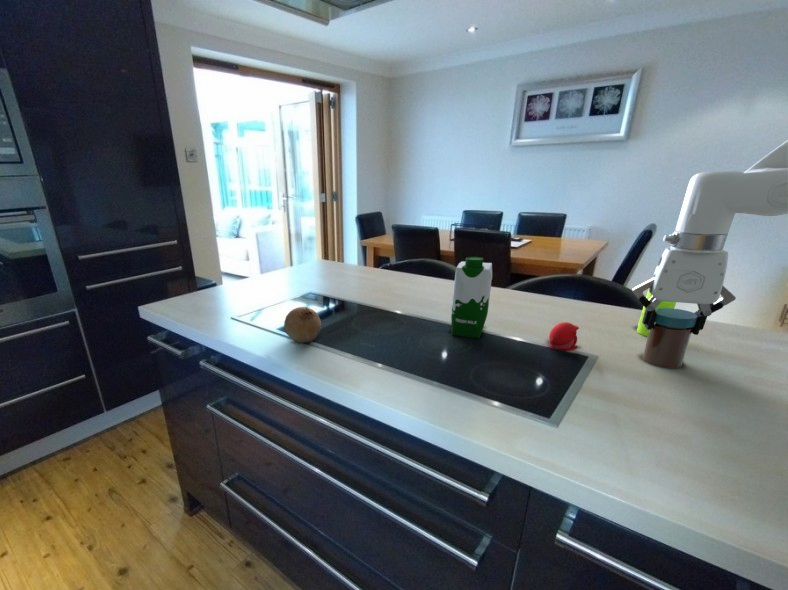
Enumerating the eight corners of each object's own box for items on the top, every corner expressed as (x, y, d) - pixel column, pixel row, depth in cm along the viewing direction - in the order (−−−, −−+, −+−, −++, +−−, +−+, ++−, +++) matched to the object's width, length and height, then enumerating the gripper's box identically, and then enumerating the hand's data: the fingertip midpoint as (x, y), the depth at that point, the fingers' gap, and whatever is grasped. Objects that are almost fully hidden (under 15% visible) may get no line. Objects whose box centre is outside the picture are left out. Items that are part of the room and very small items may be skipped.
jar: (675, 359, 84) (689, 313, 80) (685, 373, 79) (700, 324, 75) (638, 355, 87) (649, 311, 83) (645, 368, 82) (658, 321, 78)
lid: (700, 329, 75) (703, 320, 74) (655, 325, 78) (657, 316, 77) (689, 318, 81) (691, 309, 80) (647, 315, 84) (650, 306, 83)
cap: (571, 356, 88) (577, 332, 85) (543, 350, 91) (547, 326, 89) (580, 345, 93) (585, 322, 91) (553, 339, 97) (557, 316, 95)
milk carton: (447, 336, 101) (454, 259, 93) (453, 324, 109) (459, 252, 101) (483, 340, 97) (492, 261, 90) (486, 328, 105) (496, 254, 97)
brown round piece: (314, 354, 100) (322, 326, 93) (278, 346, 99) (284, 318, 92) (319, 329, 107) (326, 302, 100) (285, 321, 106) (290, 293, 99)
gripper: (645, 243, 74) (622, 330, 81) (769, 247, 67) (732, 342, 73) (637, 237, 80) (616, 319, 87) (750, 240, 73) (718, 329, 80)
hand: (670, 329), depth 80 cm, fingers closed on lid, 6 cm apart
